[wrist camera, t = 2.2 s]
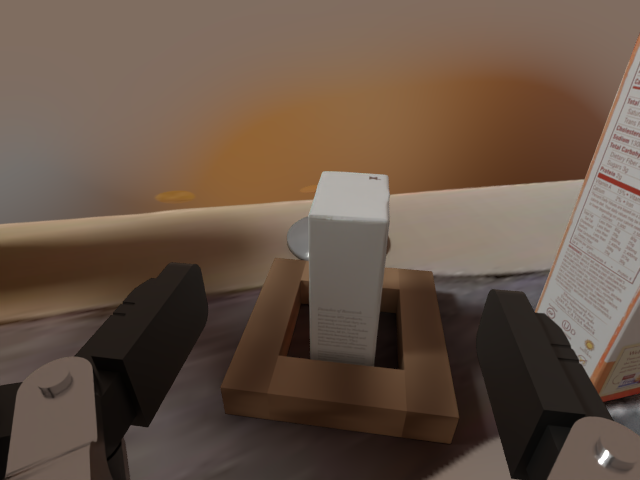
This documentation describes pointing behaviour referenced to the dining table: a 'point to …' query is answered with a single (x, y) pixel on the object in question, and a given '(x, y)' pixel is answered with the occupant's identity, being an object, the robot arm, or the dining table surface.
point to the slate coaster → (299, 239)
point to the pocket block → (340, 378)
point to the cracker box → (605, 254)
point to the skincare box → (347, 265)
